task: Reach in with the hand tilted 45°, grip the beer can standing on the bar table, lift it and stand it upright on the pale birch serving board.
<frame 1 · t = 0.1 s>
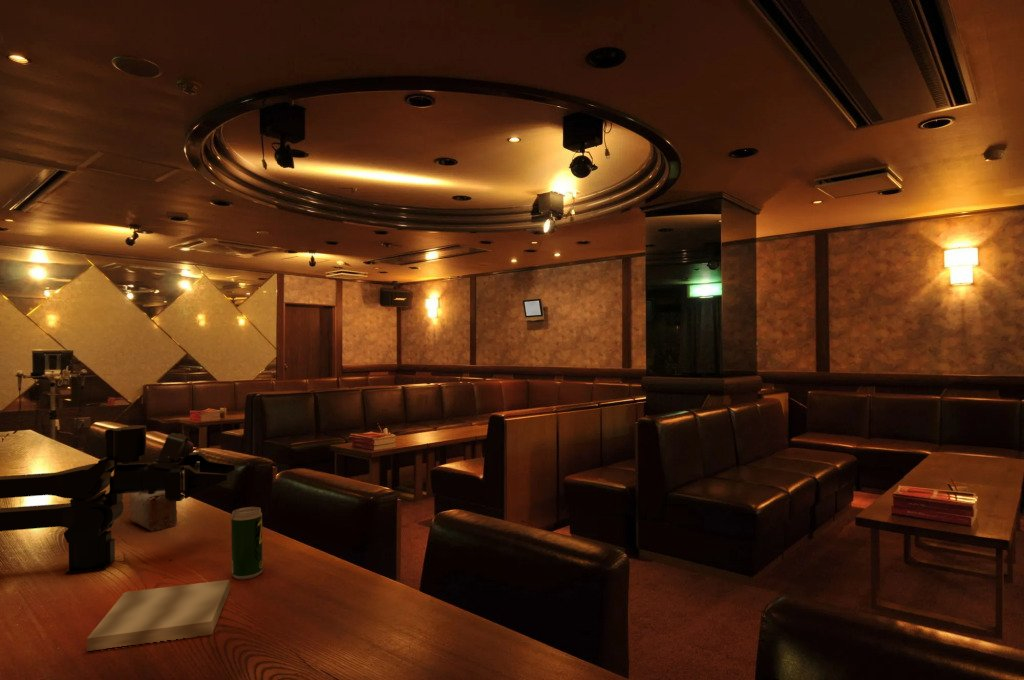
hand: (231, 472, 123), 17 cm above the table, tool horizontal, fingers open, 9 cm apart
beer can: (247, 575, 111), on the table
serving board: (166, 618, 94), on the table
food item: (154, 524, 143), on the table
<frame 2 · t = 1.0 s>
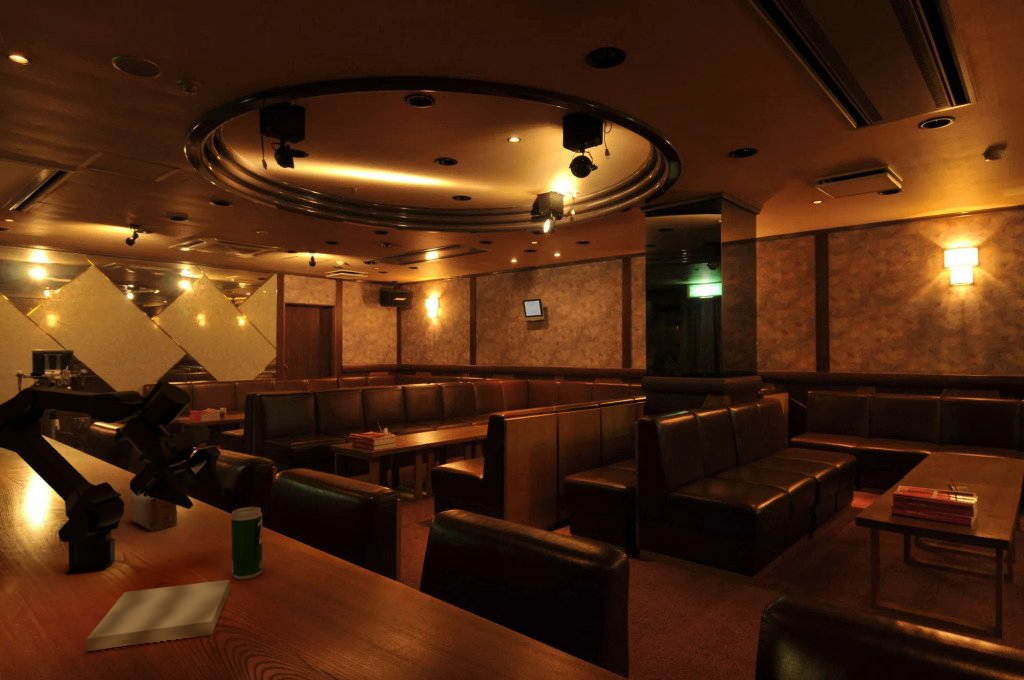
hand: (207, 500, 112), 14 cm above the table, tool tilted 45°, fingers open, 9 cm apart
nothing on the table moved.
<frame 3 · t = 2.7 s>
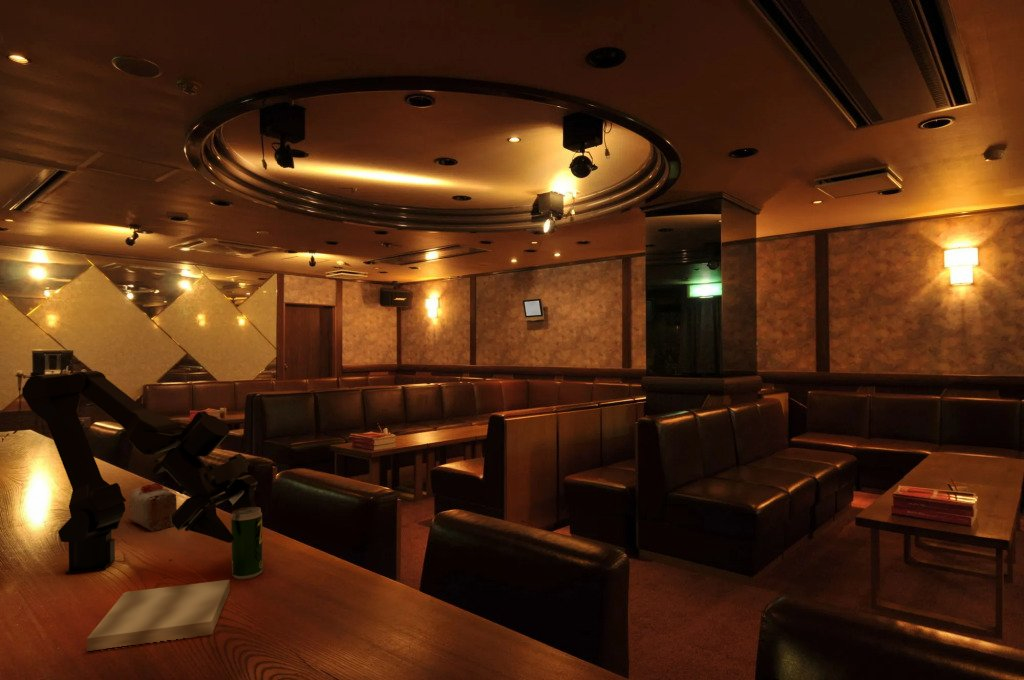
hand: (247, 532, 111), 8 cm above the table, tool tilted 45°, fingers open, 9 cm apart
nothing on the table moved.
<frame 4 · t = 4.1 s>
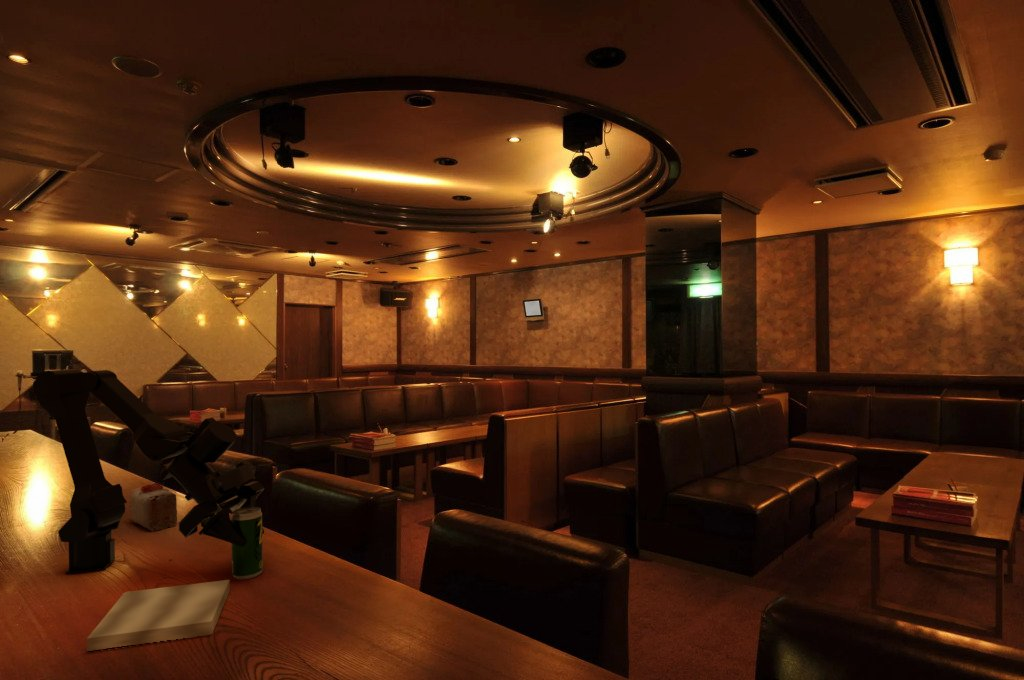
hand: (253, 539, 111), 7 cm above the table, tool tilted 45°, fingers closed on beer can, 5 cm apart
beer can: (247, 575, 111), on the table, touching gripper
everything else where it was.
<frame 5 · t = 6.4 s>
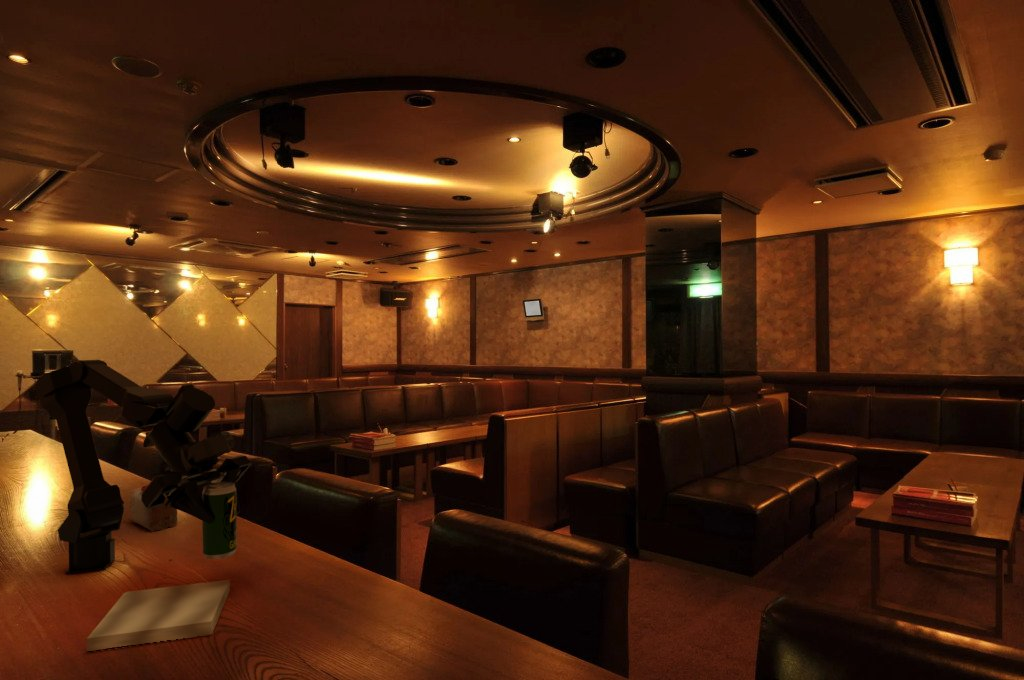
hand: (225, 516, 103), 13 cm above the table, tool tilted 45°, fingers closed on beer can, 5 cm apart
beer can: (220, 554, 103), point 7 cm above the table, touching gripper
everything else where it was.
when the fingers open (10 cm above the table, at t = 8.9 s): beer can drops 1 cm, resting on serving board.
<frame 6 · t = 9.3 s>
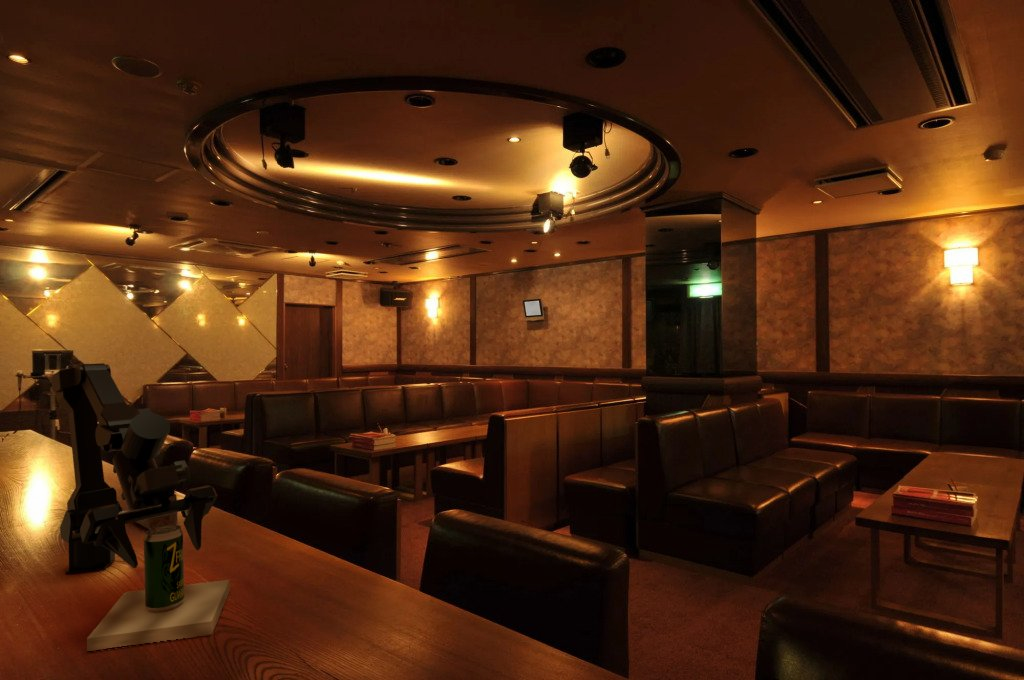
hand: (168, 557, 93), 10 cm above the table, tool tilted 45°, fingers open, 9 cm apart
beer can: (165, 606, 94), point 2 cm above the table, touching serving board
everything else where it was.
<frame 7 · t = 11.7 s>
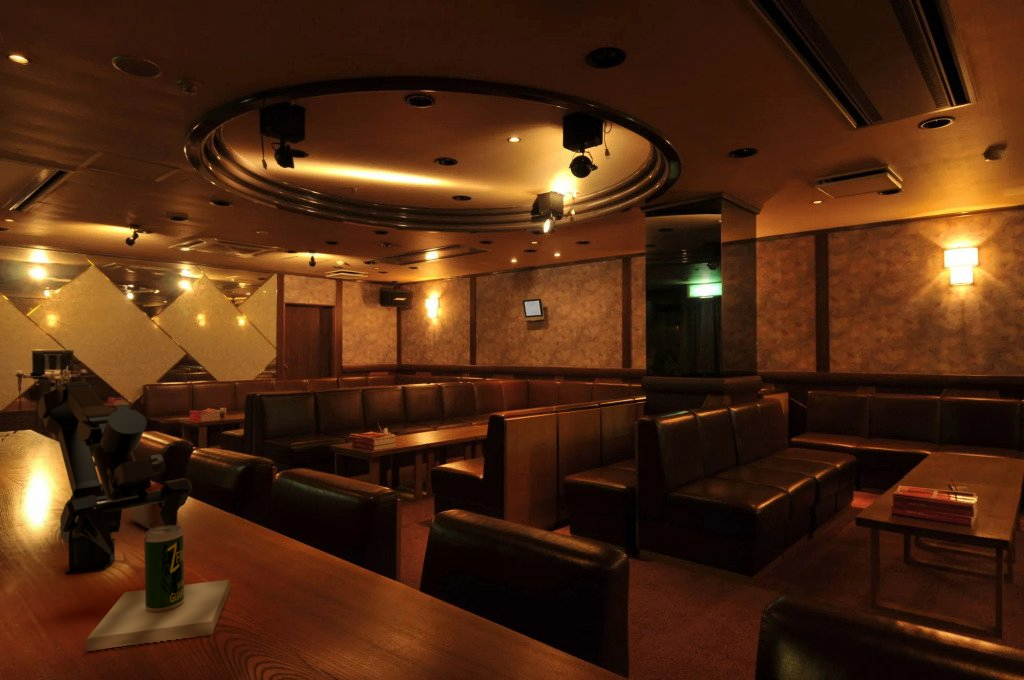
hand: (144, 544, 99), 10 cm above the table, tool tilted 45°, fingers open, 9 cm apart
nothing on the table moved.
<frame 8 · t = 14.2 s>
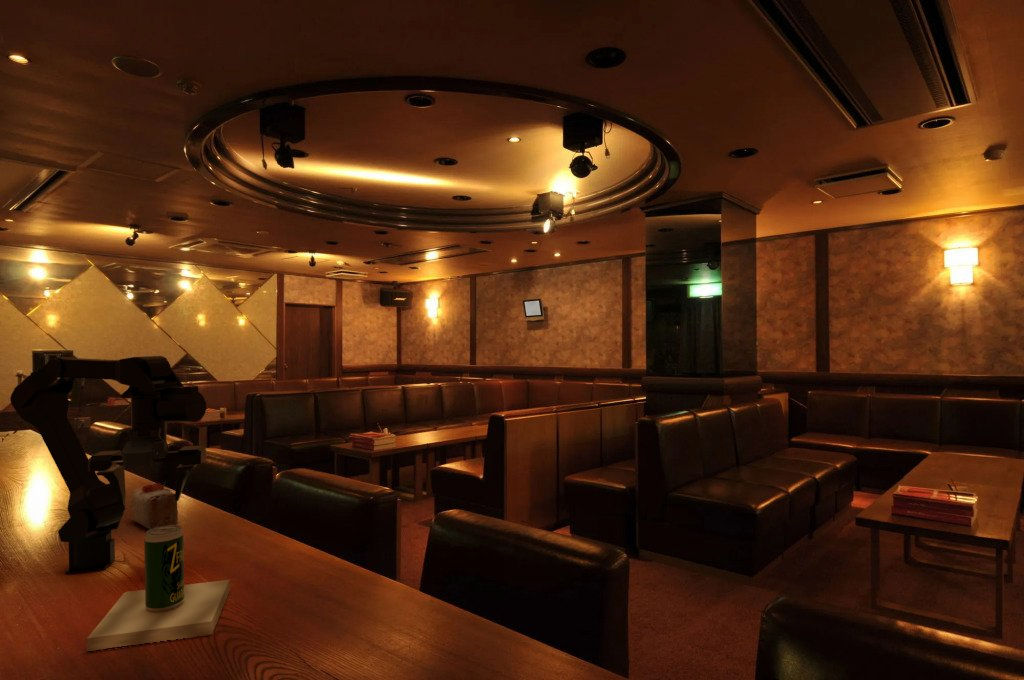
hand: (150, 502, 113), 13 cm above the table, tool pointing down, fingers open, 9 cm apart
nothing on the table moved.
at the end: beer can inside the target area on the serving board (0.2 cm from its centre), point 1.8 cm above the serving board's base; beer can tilted 0°; the gripper is holding nothing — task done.
